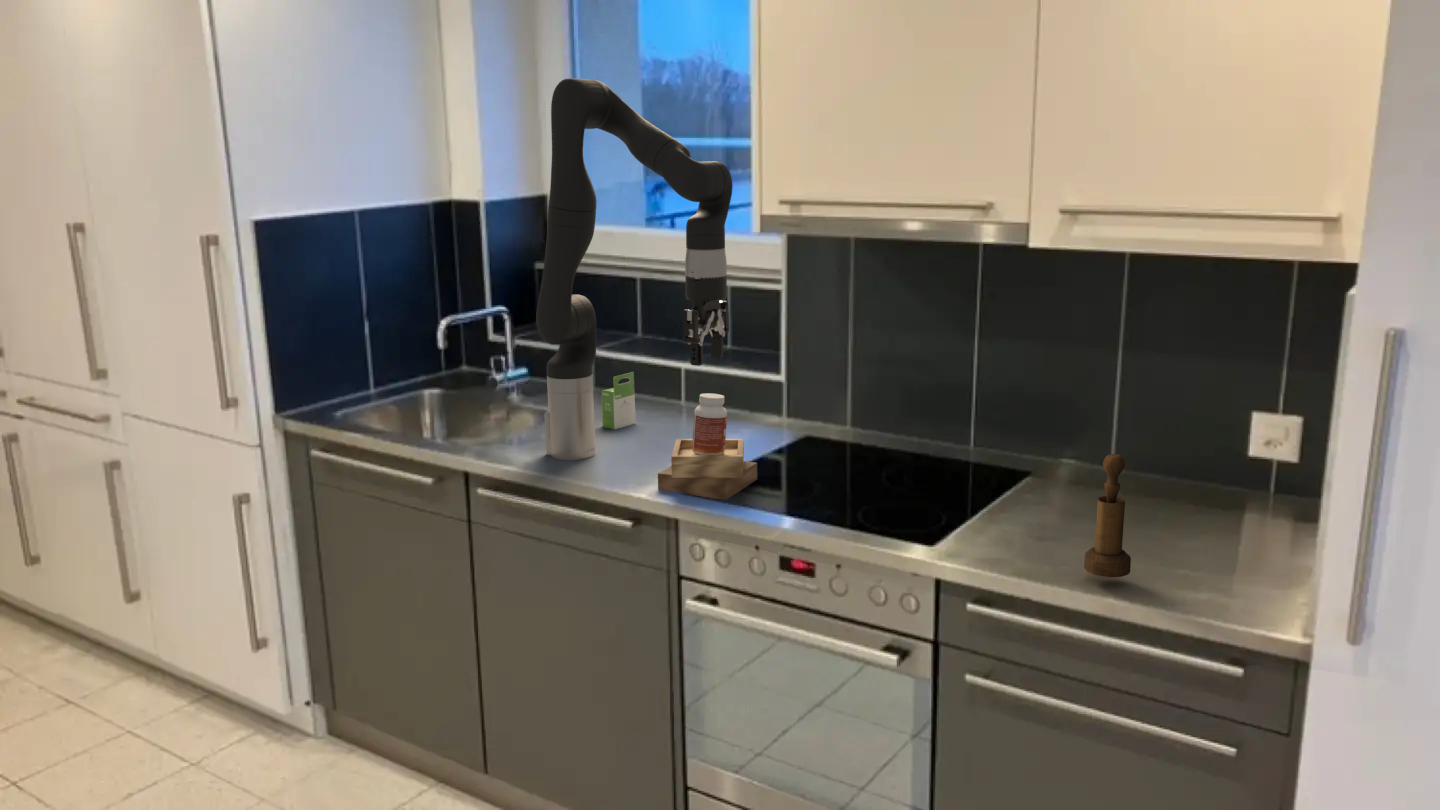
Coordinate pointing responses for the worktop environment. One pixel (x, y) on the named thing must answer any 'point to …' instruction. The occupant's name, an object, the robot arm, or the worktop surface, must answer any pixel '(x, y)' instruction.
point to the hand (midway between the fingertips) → (707, 361)
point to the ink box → (619, 403)
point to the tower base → (708, 483)
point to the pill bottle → (709, 425)
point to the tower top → (708, 461)
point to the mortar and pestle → (1109, 527)
